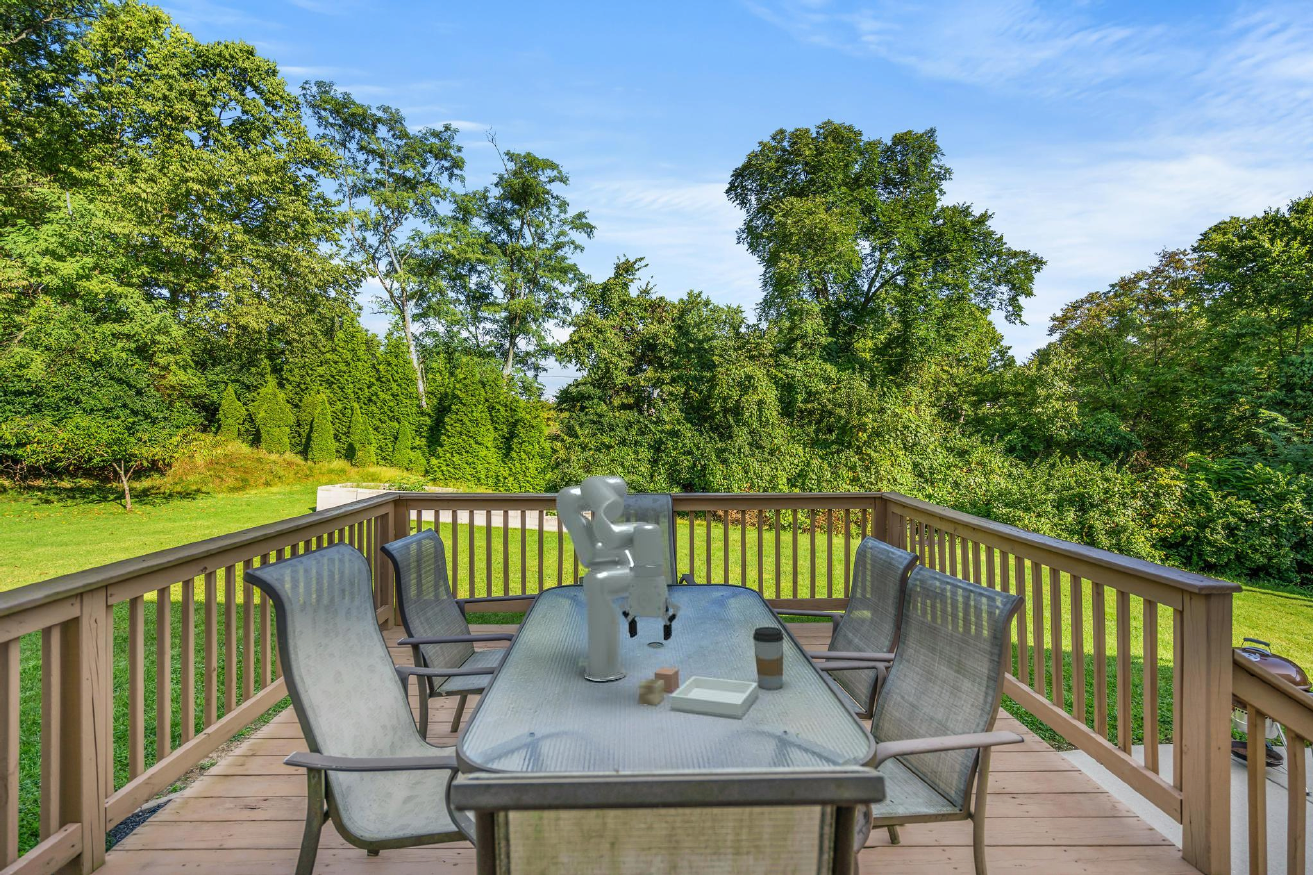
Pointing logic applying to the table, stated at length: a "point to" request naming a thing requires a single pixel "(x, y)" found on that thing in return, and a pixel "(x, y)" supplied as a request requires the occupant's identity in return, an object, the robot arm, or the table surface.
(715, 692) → the tray
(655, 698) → the maple block
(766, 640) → the coffee cup
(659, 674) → the terracotta block
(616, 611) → the robot arm
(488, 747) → the table surface
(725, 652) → the table surface
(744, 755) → the table surface
